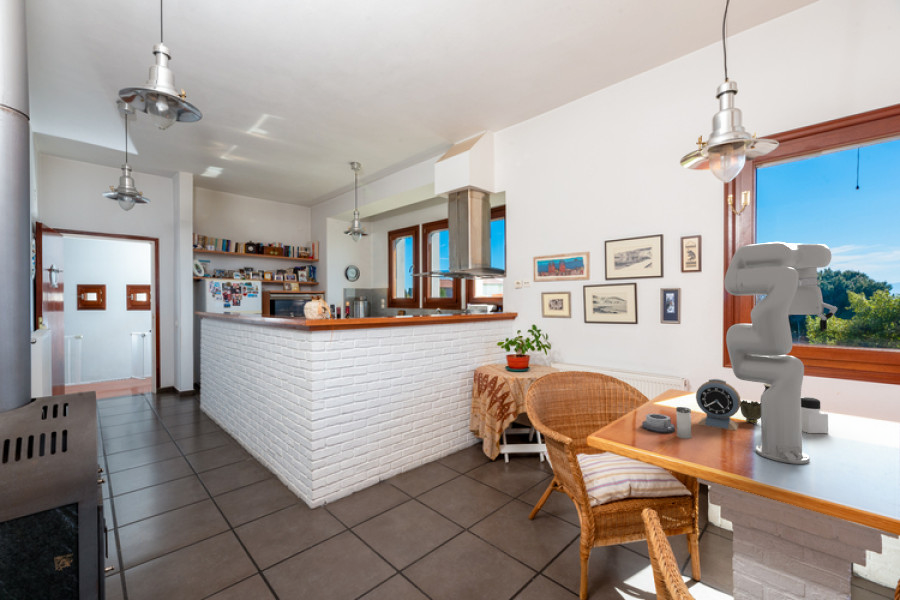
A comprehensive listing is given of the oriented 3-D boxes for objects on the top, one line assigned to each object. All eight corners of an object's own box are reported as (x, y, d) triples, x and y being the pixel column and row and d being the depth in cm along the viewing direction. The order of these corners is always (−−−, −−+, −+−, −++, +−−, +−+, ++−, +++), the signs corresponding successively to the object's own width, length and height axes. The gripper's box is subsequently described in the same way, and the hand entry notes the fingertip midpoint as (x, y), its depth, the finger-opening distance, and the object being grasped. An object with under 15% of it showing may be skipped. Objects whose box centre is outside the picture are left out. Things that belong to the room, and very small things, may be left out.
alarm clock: (694, 423, 150) (693, 379, 150) (699, 418, 157) (698, 375, 157) (739, 431, 140) (738, 383, 140) (742, 425, 147) (741, 379, 147)
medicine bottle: (828, 433, 136) (828, 400, 136) (808, 433, 136) (807, 400, 136) (810, 427, 143) (809, 395, 143) (791, 427, 143) (790, 395, 144)
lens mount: (678, 434, 138) (677, 422, 138) (644, 431, 141) (644, 419, 141) (671, 425, 148) (671, 413, 148) (640, 422, 152) (640, 411, 152)
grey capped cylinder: (692, 439, 133) (692, 410, 133) (678, 438, 134) (677, 409, 134) (689, 435, 137) (688, 407, 137) (675, 433, 139) (674, 406, 139)
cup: (762, 421, 151) (761, 401, 151) (765, 426, 145) (765, 405, 145) (738, 418, 155) (738, 399, 155) (741, 423, 149) (740, 403, 149)
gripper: (769, 284, 142) (770, 330, 142) (834, 282, 128) (835, 332, 128) (775, 285, 147) (776, 329, 146) (838, 282, 133) (840, 331, 132)
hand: (804, 330), depth 137 cm, fingers open, 9 cm apart
